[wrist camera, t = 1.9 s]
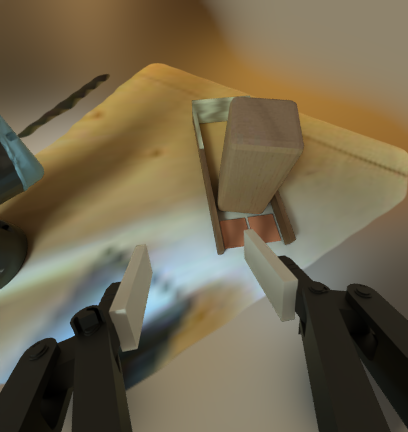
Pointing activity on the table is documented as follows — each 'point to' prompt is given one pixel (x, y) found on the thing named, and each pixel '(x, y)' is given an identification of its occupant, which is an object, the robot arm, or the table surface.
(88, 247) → the table surface
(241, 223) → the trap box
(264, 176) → the wooden block
